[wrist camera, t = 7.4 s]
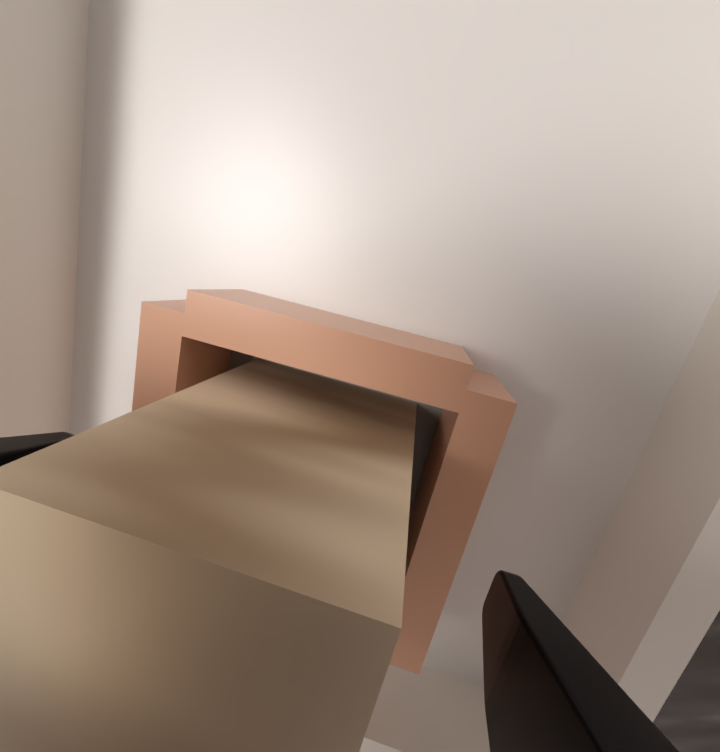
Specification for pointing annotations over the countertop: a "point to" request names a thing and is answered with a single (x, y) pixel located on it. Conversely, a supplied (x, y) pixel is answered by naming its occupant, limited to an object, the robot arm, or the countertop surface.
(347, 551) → the tan block
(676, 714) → the countertop surface
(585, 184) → the walled box
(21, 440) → the robot arm
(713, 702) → the countertop surface
